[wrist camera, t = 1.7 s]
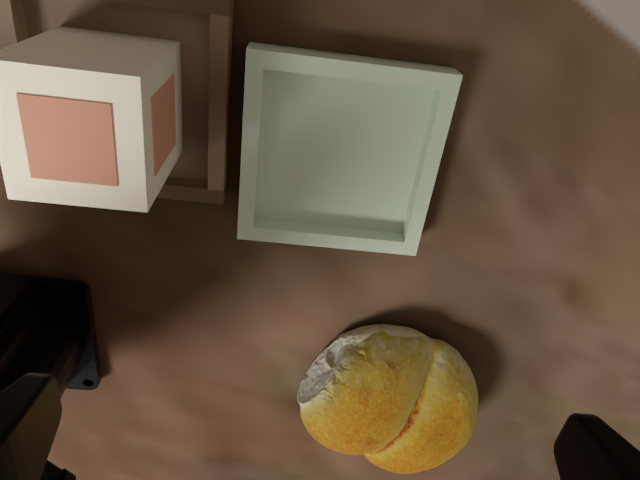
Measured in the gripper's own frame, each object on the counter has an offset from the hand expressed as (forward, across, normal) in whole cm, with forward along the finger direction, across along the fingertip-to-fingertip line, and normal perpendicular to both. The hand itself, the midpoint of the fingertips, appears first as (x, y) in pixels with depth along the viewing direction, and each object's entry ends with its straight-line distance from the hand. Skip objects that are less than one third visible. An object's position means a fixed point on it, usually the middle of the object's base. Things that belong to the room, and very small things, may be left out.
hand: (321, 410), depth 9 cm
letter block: (+12, +7, -1) cm, 14 cm away
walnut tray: (+13, +7, -1) cm, 15 cm away
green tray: (+13, -1, 0) cm, 13 cm away
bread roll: (+13, -6, +13) cm, 19 cm away
